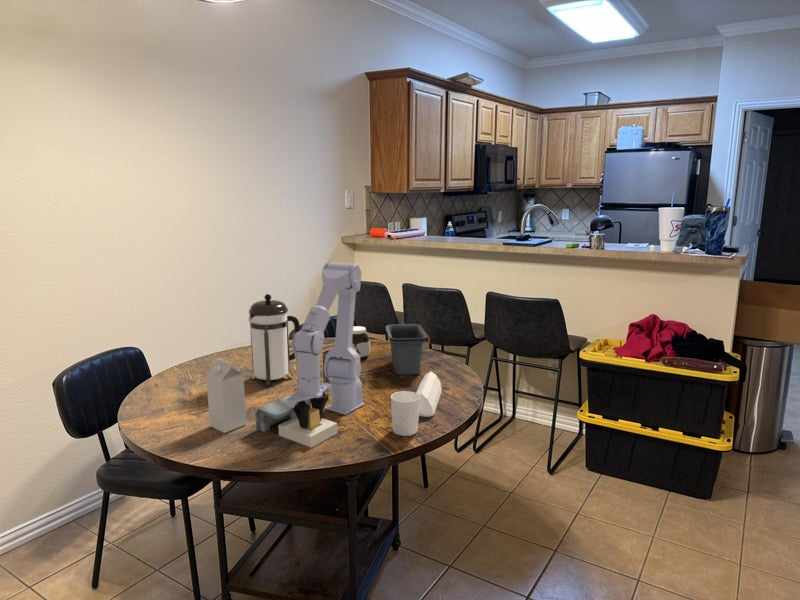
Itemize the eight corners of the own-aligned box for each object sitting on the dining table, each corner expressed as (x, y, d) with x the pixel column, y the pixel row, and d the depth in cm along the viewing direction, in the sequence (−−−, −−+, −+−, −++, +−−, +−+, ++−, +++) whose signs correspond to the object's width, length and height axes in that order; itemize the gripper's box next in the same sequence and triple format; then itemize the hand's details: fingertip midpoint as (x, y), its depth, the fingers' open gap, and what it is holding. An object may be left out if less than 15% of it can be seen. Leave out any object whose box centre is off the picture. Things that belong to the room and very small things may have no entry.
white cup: (418, 424, 152) (418, 390, 150) (420, 437, 144) (420, 401, 142) (390, 424, 151) (390, 391, 149) (391, 437, 144) (391, 402, 142)
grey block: (291, 414, 158) (290, 393, 157) (313, 421, 153) (312, 400, 152) (256, 430, 148) (254, 407, 146) (278, 439, 143) (277, 415, 141)
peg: (311, 431, 147) (309, 407, 146) (321, 434, 145) (319, 409, 144) (302, 436, 144) (300, 411, 143) (311, 439, 142) (309, 413, 141)
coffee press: (291, 387, 180) (288, 298, 174) (244, 386, 180) (238, 298, 174) (302, 369, 197) (299, 288, 190) (258, 369, 197) (254, 288, 191)
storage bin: (384, 359, 209) (384, 323, 206) (424, 358, 210) (424, 322, 207) (389, 378, 188) (389, 339, 185) (433, 376, 190) (434, 337, 187)
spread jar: (370, 354, 216) (369, 325, 213) (370, 363, 205) (370, 333, 202) (339, 354, 215) (339, 326, 212) (338, 363, 204) (337, 333, 201)
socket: (305, 422, 153) (305, 412, 152) (337, 433, 146) (337, 423, 145) (278, 435, 145) (278, 425, 144) (311, 447, 138) (310, 436, 137)
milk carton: (232, 418, 155) (227, 355, 151) (246, 425, 151) (242, 360, 147) (209, 426, 150) (204, 361, 146) (224, 433, 146) (219, 366, 142)
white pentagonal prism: (439, 408, 154) (448, 379, 177) (417, 394, 154) (429, 367, 177) (426, 427, 156) (436, 396, 179) (405, 414, 156) (418, 385, 179)
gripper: (299, 386, 133) (301, 437, 136) (338, 371, 145) (339, 418, 148) (280, 381, 137) (282, 430, 140) (319, 366, 149) (320, 412, 152)
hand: (310, 423), depth 144 cm, fingers open, 4 cm apart
